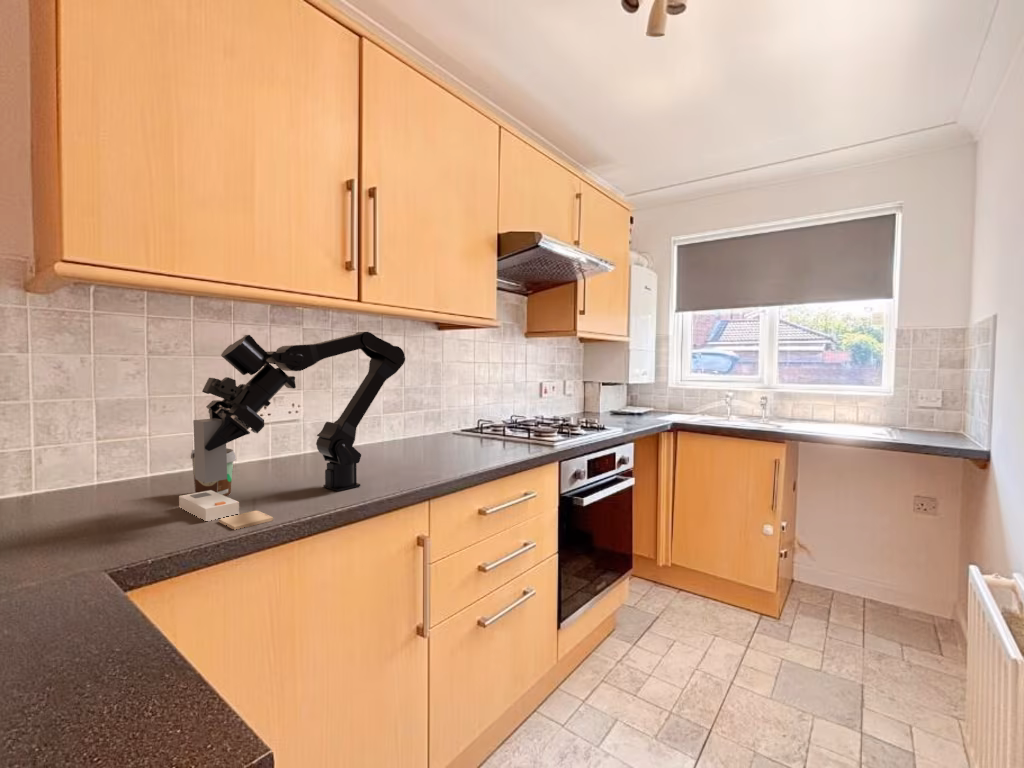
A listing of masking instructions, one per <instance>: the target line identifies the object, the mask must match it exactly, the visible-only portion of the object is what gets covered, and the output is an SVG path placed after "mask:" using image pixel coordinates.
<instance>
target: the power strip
mask: <svg viewBox="0 0 1024 768" xmlns="http://www.w3.org/2000/svg"><path fill="white" fill-rule="evenodd" d="M178 502H179V503H178V505H179V507H180V508H179V509H181V508H182V509H181V510H183V509H184V510H185V512H186V511H187V512H186V513H188V512H189V514H190V513H191V514H190V515H192V514H193V515H192V516H194V515H195V516H194V517H196V516H197V517H196V518H198V519H200V518H201V519H203V520H204V521H203V520H202V521H203V522H205V521H208V522H211V520H212V521H216V520H219V519H218V518H223V517H226V516H229V517H230V516H231V515H235V514H240V502H239V501H237V500H235V499H233V498H231V497H228V496H224V495H221V494H219V493H217V492H214V491H212V490H209V491H204V492H198V493H195V492H193V493H188V494H183V495H179V496H178ZM184 510H183V511H184ZM201 519H200V520H201ZM215 519H216V520H215Z"/></svg>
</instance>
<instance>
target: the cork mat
mask: <svg viewBox="0 0 1024 768" xmlns="http://www.w3.org/2000/svg"><path fill="white" fill-rule="evenodd" d="M273 521H274V517H273V516H271V515H268V514H267V513H263V512H261V511H260V510H253V511H252V510H251V511H247V512H244V513H239V514H238V515H234V516H229V517H225V518H221V519H218V523H220V524H222V525H224V526H226V525H227V526H226V527H228V528H230V529H232V530H233V529H234V531H237V530H240V528H241V529H245V528H248V527H249V528H250V527H252V526H253V527H254V526H256V525H260V524H266V523H269V522H273ZM244 527H245V528H244ZM236 529H237V530H236Z"/></svg>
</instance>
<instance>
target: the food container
mask: <svg viewBox="0 0 1024 768" xmlns="http://www.w3.org/2000/svg"><path fill="white" fill-rule="evenodd" d="M226 455H227V479H225V480H219V481H214V482H208V483H204V482H201V481H199V480H196V479H195V456H194V449H191V453H190V459H191V460H192V462H191V463H192V470H193V471H192V472H193V485H194V487H193V488H194V493H198V492H204V491H209V490H212V491H214V492H217V493H219V494H221V495H224V496H226V497H228V496H230V495H231V494H230V493H231V491H232V479H233V468H234V467H233V465H234V464H233V463H234V462H235V461H236V460H237V456H236V453H235V452H234V449H232V448H228V447H226ZM229 494H230V495H229Z"/></svg>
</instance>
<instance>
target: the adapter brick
mask: <svg viewBox="0 0 1024 768" xmlns="http://www.w3.org/2000/svg"><path fill="white" fill-rule="evenodd" d="M192 423H193V425H192V426H193V448H194V449H193V450H194V456H195V479H196V480H199V481H201V482H204V483H208V482H214V481H219V480H225V479H227V455H226V448H227V443H226V444H224V445H222V446H219V447H217V448H215V449H213V450H211V451H208V450H206V449H205V446H206V444H207V443H208V442H209V440H210V439H211V438H212V436H213V435H214V434H215V432H216V431H217V430H218V428H219V427H220V426H221V424H222V419H217V418H212V419H210V418H203V419H193V422H192Z"/></svg>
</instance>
